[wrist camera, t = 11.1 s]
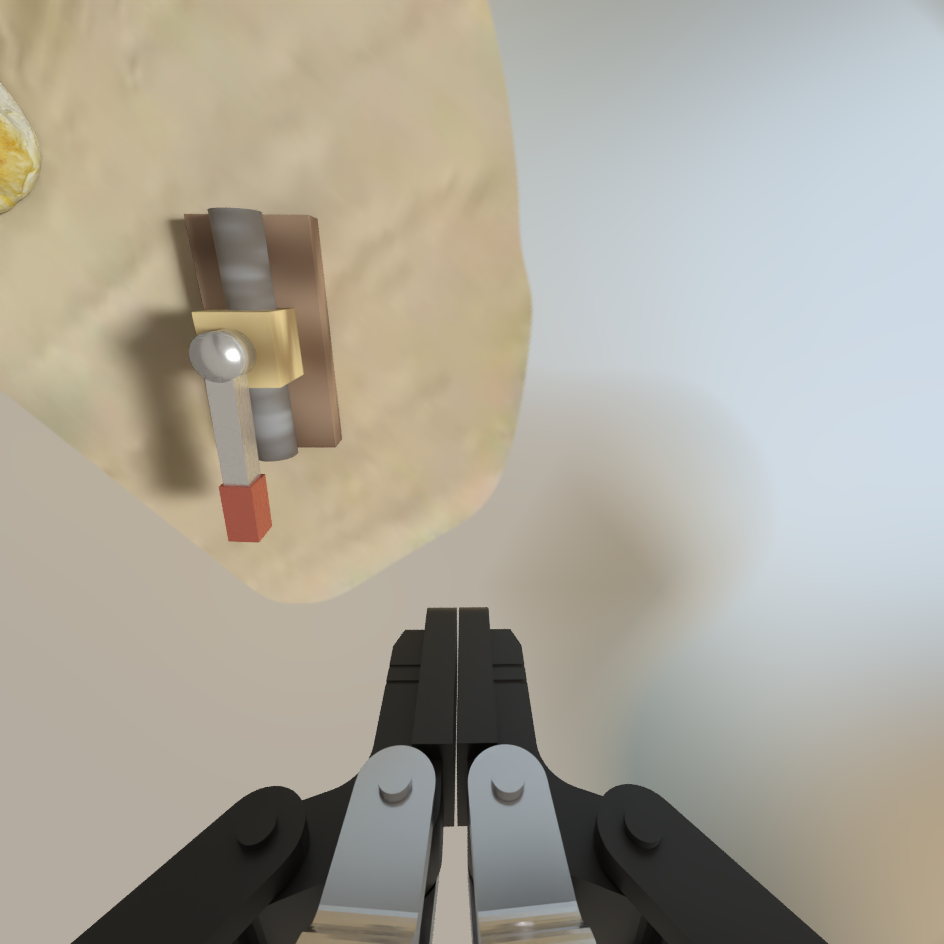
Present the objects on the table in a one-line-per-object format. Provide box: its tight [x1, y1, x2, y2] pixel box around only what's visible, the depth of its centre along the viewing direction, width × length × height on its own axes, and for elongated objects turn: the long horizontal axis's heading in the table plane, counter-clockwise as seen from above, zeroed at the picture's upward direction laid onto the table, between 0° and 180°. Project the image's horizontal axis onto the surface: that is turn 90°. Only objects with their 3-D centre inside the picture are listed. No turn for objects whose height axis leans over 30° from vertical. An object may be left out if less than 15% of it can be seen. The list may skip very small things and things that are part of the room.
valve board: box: [184, 208, 342, 461], centre depth 31 cm, size 16×8×7 cm, turn 0°
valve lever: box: [189, 329, 272, 542], centre depth 29 cm, size 13×3×2 cm, turn 177°
